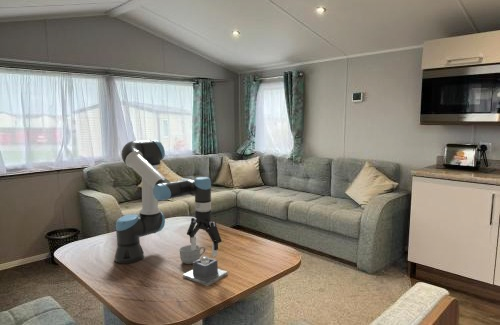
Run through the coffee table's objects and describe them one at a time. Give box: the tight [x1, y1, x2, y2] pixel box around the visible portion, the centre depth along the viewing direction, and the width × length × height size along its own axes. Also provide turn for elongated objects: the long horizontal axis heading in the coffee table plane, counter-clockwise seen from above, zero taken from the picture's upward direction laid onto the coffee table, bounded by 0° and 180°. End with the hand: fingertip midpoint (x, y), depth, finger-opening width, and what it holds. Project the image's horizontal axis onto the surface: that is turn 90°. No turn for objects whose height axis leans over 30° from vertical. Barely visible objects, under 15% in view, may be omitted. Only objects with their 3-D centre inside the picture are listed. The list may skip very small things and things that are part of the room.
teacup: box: [179, 244, 207, 265], centre depth 179 cm, size 14×11×8 cm
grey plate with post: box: [182, 255, 228, 287], centre depth 162 cm, size 16×14×10 cm
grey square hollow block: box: [192, 257, 219, 279], centre depth 162 cm, size 8×8×6 cm
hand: (203, 252), depth 161 cm, fingers open, 13 cm apart
